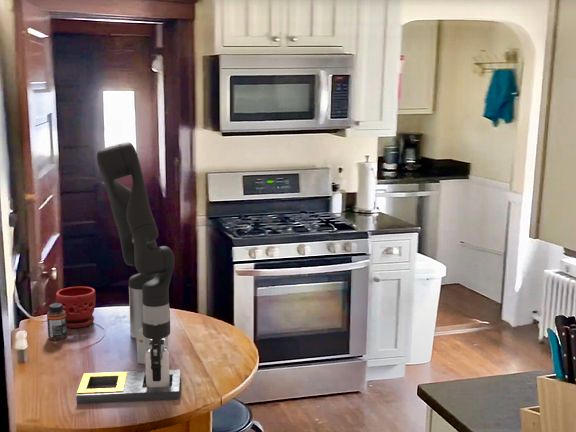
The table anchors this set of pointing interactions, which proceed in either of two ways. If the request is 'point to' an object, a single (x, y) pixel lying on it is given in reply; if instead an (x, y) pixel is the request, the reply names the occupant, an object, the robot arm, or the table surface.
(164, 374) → the can
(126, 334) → the table surface
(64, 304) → the plant pot
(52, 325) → the supplement bottle
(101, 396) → the grey slotted tray
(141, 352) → the small box
